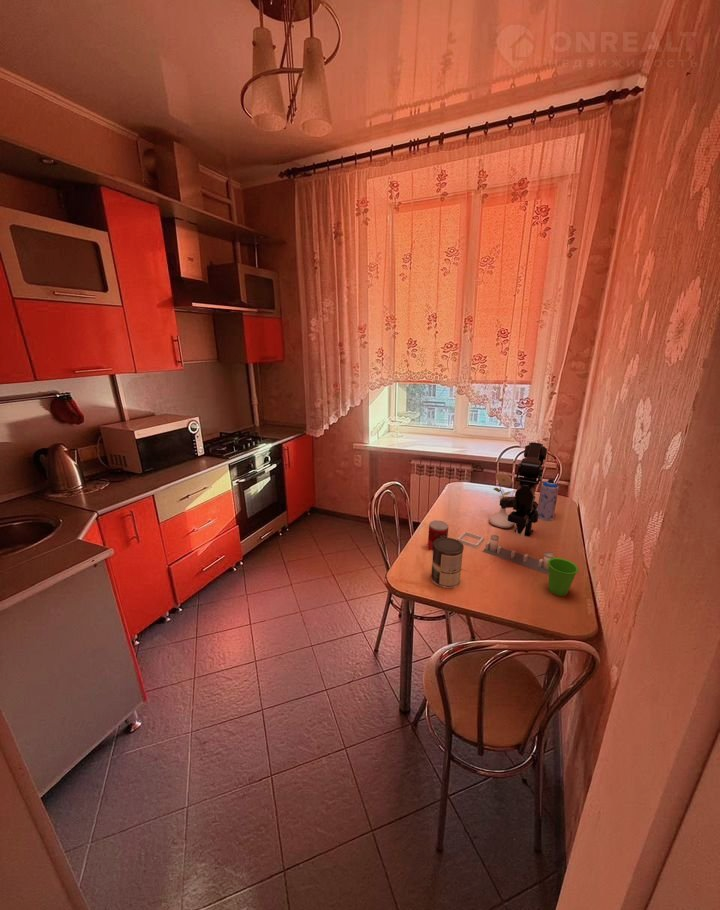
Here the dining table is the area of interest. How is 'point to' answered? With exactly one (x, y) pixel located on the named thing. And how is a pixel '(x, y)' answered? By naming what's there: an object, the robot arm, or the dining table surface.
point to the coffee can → (447, 562)
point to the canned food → (436, 532)
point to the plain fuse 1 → (494, 543)
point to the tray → (470, 542)
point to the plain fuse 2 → (546, 557)
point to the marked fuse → (521, 533)
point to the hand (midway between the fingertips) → (520, 531)
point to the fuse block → (517, 558)
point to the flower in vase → (501, 517)
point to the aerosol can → (547, 500)
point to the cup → (561, 575)
